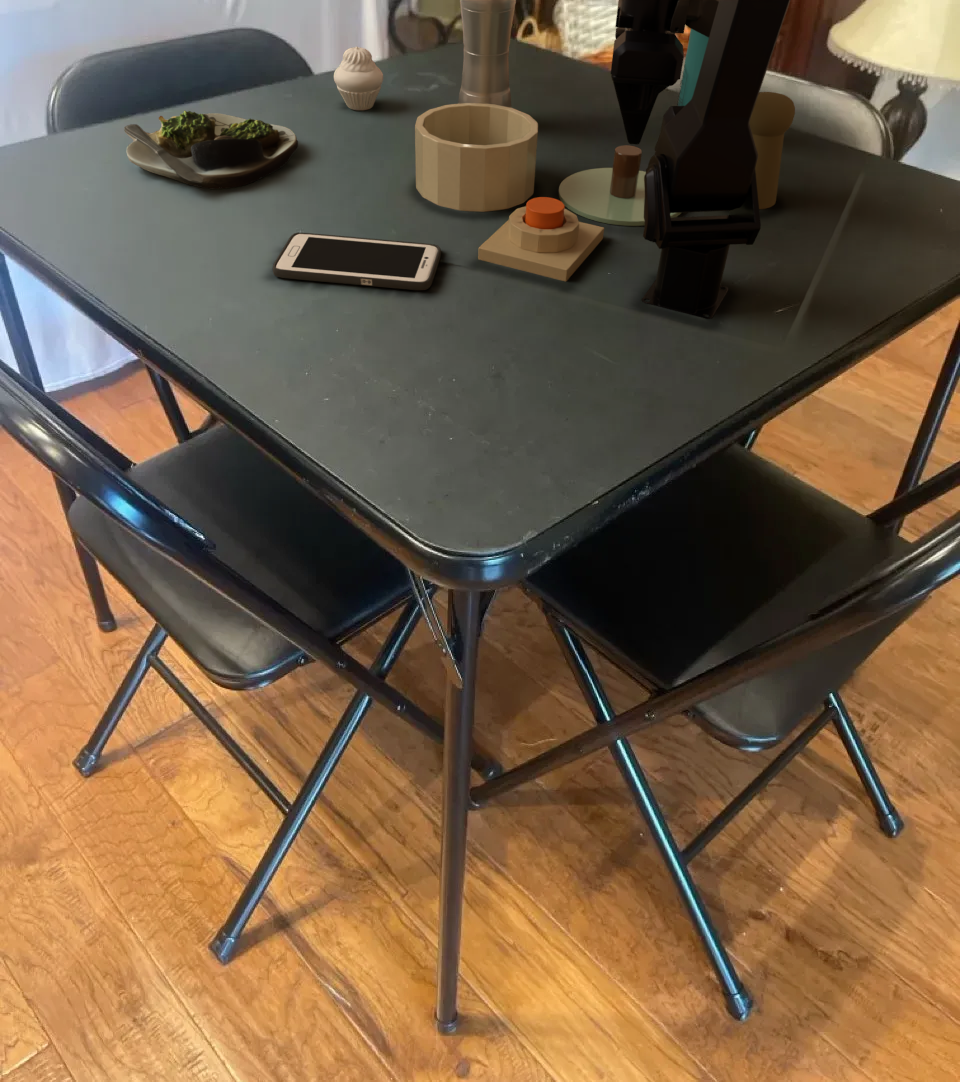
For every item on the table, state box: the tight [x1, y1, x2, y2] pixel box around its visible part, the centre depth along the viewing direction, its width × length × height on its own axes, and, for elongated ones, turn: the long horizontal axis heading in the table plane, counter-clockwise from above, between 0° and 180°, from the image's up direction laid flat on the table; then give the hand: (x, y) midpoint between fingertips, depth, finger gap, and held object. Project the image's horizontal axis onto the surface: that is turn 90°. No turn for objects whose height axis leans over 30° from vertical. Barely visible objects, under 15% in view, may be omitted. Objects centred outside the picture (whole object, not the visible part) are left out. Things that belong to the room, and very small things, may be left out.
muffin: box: [333, 45, 384, 111], centre depth 115 cm, size 6×6×7 cm
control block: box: [477, 205, 605, 282], centre depth 88 cm, size 10×9×4 cm
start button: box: [525, 196, 566, 229], centre depth 87 cm, size 4×4×2 cm
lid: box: [558, 144, 682, 227], centre depth 97 cm, size 14×14×6 cm
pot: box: [414, 103, 539, 213], centre depth 97 cm, size 13×13×7 cm
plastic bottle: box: [457, 0, 517, 108], centre depth 106 cm, size 6×7×20 cm
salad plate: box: [123, 110, 299, 190], centre depth 102 cm, size 19×18×5 cm
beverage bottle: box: [676, 28, 709, 106], centre depth 106 cm, size 6×7×20 cm
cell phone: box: [272, 232, 442, 291], centre depth 86 cm, size 8×15×1 cm, turn 83°
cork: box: [749, 91, 796, 210], centre depth 96 cm, size 6×6×11 cm
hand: (634, 126), depth 93 cm, fingers open, 9 cm apart
